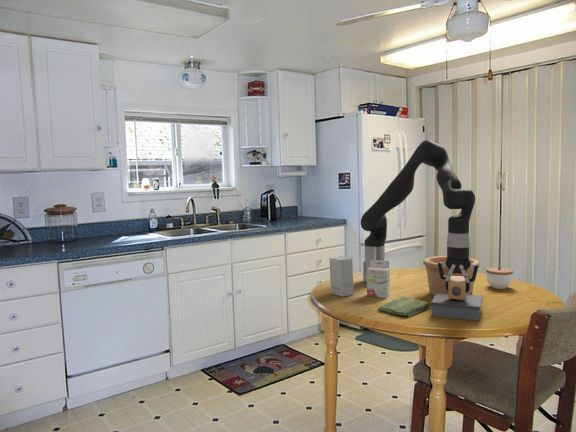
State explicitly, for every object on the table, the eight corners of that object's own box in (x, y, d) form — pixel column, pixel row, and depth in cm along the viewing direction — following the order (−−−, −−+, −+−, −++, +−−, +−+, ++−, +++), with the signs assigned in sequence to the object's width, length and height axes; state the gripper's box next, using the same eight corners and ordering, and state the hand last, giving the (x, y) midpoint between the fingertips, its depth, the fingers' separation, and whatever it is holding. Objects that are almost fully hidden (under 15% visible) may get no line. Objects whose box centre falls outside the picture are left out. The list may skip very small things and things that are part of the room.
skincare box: (353, 295, 191) (353, 258, 190) (341, 297, 188) (341, 260, 187) (341, 291, 198) (341, 255, 197) (329, 293, 195) (329, 257, 194)
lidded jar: (486, 289, 198) (486, 267, 197) (485, 283, 207) (485, 263, 207) (513, 291, 194) (514, 269, 193) (511, 285, 203) (512, 264, 203)
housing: (451, 291, 171) (451, 275, 170) (466, 292, 169) (467, 276, 168) (447, 299, 161) (448, 282, 160) (464, 300, 158) (464, 283, 158)
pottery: (484, 302, 177) (485, 266, 175) (425, 300, 181) (425, 265, 180) (473, 289, 198) (473, 256, 197) (420, 287, 202) (420, 255, 201)
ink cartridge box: (366, 296, 189) (366, 261, 188) (369, 293, 193) (369, 259, 192) (387, 298, 185) (387, 262, 184) (389, 295, 190) (390, 260, 189)
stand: (430, 316, 161) (431, 302, 161) (437, 304, 175) (437, 291, 175) (480, 321, 154) (480, 307, 154) (482, 308, 169) (482, 295, 168)
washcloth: (376, 312, 168) (376, 303, 168) (402, 302, 180) (402, 294, 180) (407, 320, 159) (407, 310, 158) (432, 309, 171) (432, 300, 171)
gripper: (480, 244, 163) (479, 291, 164) (438, 242, 169) (438, 287, 171) (479, 247, 156) (478, 296, 158) (435, 245, 162) (435, 292, 164)
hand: (457, 291), depth 164 cm, fingers closed on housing, 5 cm apart
